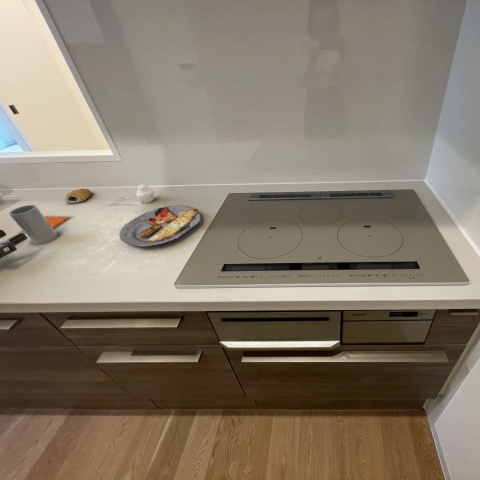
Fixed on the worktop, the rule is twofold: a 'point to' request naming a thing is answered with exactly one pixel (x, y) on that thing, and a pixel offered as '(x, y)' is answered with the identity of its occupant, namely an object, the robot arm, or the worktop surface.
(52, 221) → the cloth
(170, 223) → the food plate
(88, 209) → the worktop surface
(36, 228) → the grey cylindrical cup
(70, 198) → the pastry
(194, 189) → the worktop surface
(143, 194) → the white lumpy ball
